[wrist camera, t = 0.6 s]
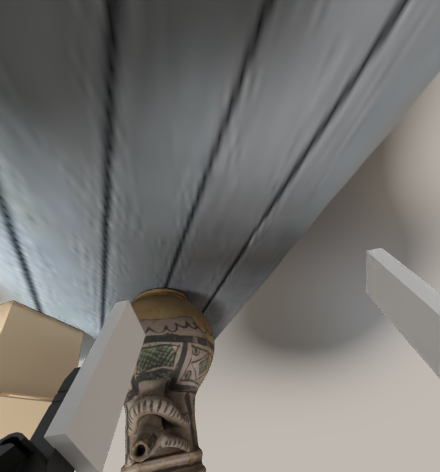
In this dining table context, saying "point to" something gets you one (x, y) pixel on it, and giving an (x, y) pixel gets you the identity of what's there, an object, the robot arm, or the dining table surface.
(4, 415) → the lid flap
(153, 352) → the decorative pitcher
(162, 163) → the dining table surface
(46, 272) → the dining table surface
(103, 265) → the dining table surface
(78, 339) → the carton
